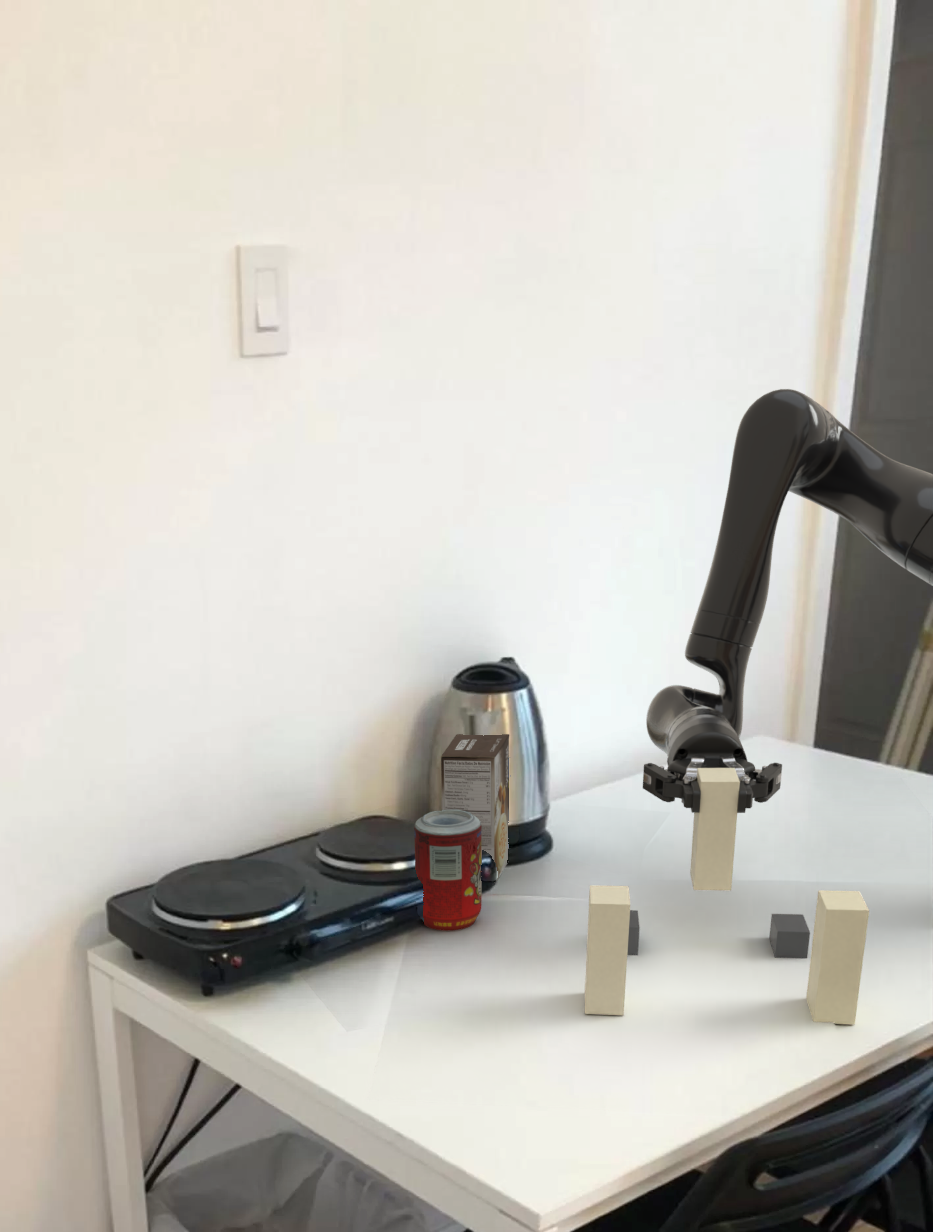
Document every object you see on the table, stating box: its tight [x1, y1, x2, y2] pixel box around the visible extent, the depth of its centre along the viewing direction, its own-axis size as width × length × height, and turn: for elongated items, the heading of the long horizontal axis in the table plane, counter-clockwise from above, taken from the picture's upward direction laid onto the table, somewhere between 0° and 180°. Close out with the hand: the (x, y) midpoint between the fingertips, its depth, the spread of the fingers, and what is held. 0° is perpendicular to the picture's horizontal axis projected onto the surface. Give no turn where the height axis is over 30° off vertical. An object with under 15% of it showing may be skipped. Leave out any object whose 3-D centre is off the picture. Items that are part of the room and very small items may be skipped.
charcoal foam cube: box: [768, 913, 811, 959], centre depth 148 cm, size 3×5×4 cm, turn 167°
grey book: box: [627, 909, 641, 956], centre depth 152 cm, size 3×5×4 cm, turn 167°
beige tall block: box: [805, 889, 870, 1026], centre depth 134 cm, size 4×5×11 cm
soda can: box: [413, 809, 483, 932], centre depth 160 cm, size 7×7×12 cm
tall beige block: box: [689, 768, 740, 892], centre depth 146 cm, size 4×5×11 cm
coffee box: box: [440, 733, 510, 882], centre depth 173 cm, size 9×6×16 cm
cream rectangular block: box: [584, 884, 631, 1016], centre depth 139 cm, size 4×5×11 cm
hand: (719, 802), depth 142 cm, fingers closed on tall beige block, 3 cm apart
